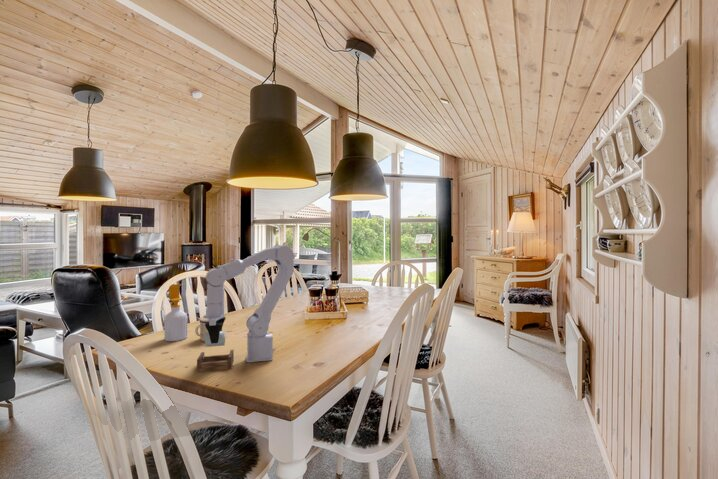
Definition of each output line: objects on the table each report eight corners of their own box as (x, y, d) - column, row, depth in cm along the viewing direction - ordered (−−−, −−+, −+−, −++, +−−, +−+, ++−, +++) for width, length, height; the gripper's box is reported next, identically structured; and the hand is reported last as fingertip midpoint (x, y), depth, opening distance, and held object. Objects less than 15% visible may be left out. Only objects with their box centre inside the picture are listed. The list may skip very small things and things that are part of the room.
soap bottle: (167, 343, 148) (166, 286, 147) (162, 338, 155) (162, 283, 154) (189, 338, 154) (189, 284, 153) (184, 334, 160) (183, 281, 160)
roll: (225, 342, 126) (225, 328, 125) (223, 347, 121) (223, 334, 120) (207, 343, 124) (207, 330, 124) (204, 349, 119) (204, 335, 119)
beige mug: (212, 334, 160) (212, 309, 160) (226, 337, 156) (225, 311, 156) (189, 341, 150) (188, 314, 150) (202, 344, 145) (202, 317, 145)
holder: (233, 360, 127) (233, 349, 127) (231, 368, 120) (231, 357, 120) (201, 363, 124) (201, 352, 124) (197, 371, 117) (196, 360, 117)
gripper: (207, 299, 128) (207, 335, 128) (199, 307, 114) (199, 348, 114) (227, 298, 130) (227, 334, 130) (222, 306, 116) (222, 346, 116)
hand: (215, 340), depth 122 cm, fingers closed on roll, 5 cm apart
